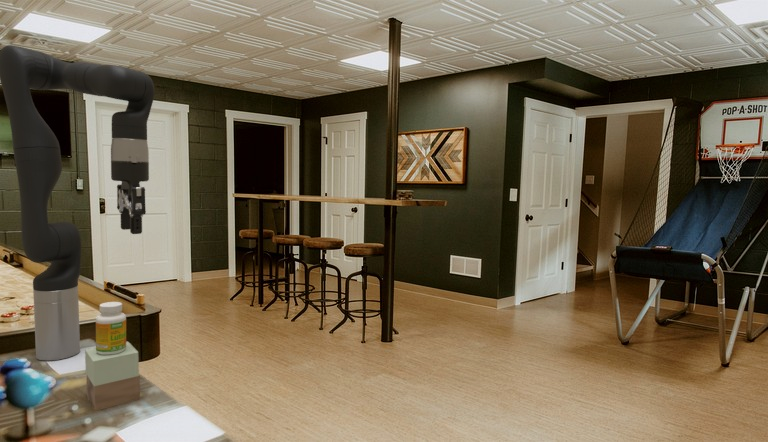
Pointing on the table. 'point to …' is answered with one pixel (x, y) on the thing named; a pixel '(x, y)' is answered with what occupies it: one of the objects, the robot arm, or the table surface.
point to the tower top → (111, 365)
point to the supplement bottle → (110, 329)
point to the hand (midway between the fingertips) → (131, 231)
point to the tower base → (113, 392)
